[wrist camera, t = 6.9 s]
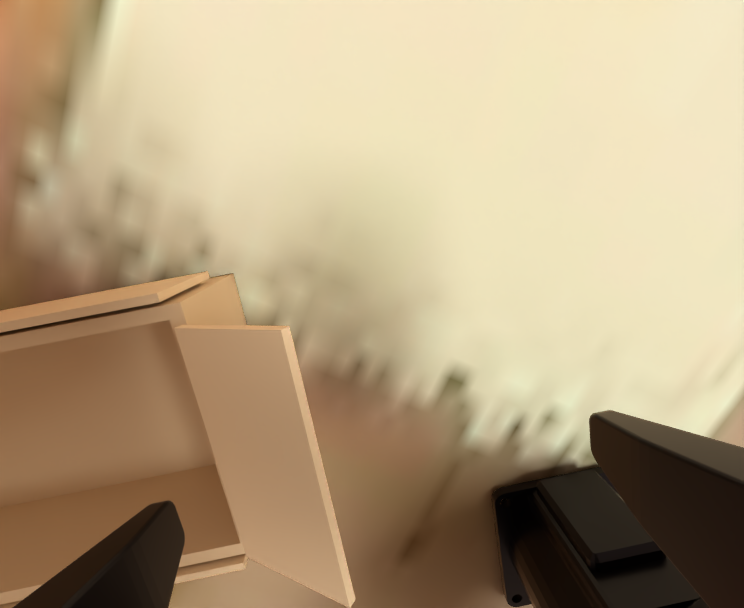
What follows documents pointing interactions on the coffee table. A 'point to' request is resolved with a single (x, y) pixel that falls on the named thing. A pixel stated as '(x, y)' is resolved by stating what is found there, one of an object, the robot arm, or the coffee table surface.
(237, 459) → the inner flap
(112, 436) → the carton
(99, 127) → the coffee table surface
